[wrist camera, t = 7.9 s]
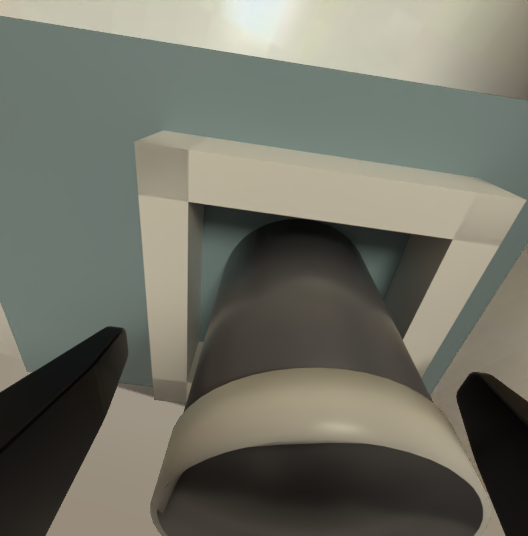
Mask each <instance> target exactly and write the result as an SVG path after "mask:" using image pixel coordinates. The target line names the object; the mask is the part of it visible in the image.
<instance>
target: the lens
mask: <svg viewBox="0 0 528 536" xmlns="http://www.w3.org/2000/svg"><path fill="white" fill-rule="evenodd" d="M490 516H491V506H490V502H489V499H488V496H487V494H486V492H485V490H484V488H483V486H482V484H481V482H480V480H479V478H478V476H477V474H476V472H475V470H474V468H473V466H472V464H471V462H470V461H469V459H468V457H467V455H466V453H465V451H464V449H463V447H462V445H461V443H460V441H459V439H458V437H457V435H456V433H455V431H454V429H453V427H452V425H451V424H450V422H449V421H448V419H447V417H446V416H445V414H444V413H443V412H442V411H441V410H440V409H439V408H438V407H437V406H436V405H435V404H434V403H433V401H432V399H431V397H430V395H429V393H428V391H427V389H426V387H425V385H424V383H423V381H422V379H421V377H420V375H419V372H418V370H417V368H416V366H415V364H414V362H413V360H412V358H411V356H410V354H409V352H408V350H407V348H406V346H405V344H404V342H403V340H402V338H401V336H400V334H399V332H398V330H397V328H396V326H395V324H394V322H393V319H392V317H391V315H390V313H389V311H388V309H387V307H386V305H385V303H384V301H383V299H382V297H381V295H380V293H379V291H378V289H377V287H376V285H375V283H374V281H373V279H372V277H371V275H370V273H369V271H368V269H367V266H366V264H365V262H364V260H363V258H362V256H361V254H360V253H359V251H358V249H357V248H356V246H355V245H354V244H353V243H352V241H351V240H350V239H349V238H347V237H346V236H345V235H344V234H343V233H341V232H340V231H338V230H337V229H335V228H333V227H331V226H329V225H326V224H323V223H320V222H317V221H312V220H306V219H286V220H281V221H276V222H273V223H269V224H266V225H264V226H262V227H260V228H257V229H256V230H254V231H253V232H251V233H249V234H248V235H247V236H246V237H244V238H243V239H242V240H241V241H240V242H239V243H238V244H237V246H236V247H235V248H234V250H233V251H232V253H231V254H230V256H229V258H228V260H227V264H226V267H225V270H224V274H223V277H222V281H221V284H220V287H219V291H218V294H217V298H216V301H215V305H214V308H213V312H212V315H211V319H210V322H209V326H208V329H207V333H206V336H205V340H204V343H203V347H202V350H201V354H200V357H199V361H198V364H197V368H196V371H195V375H194V378H193V381H192V385H191V388H190V392H189V395H188V399H187V402H186V406H185V409H184V413H183V414H182V415H181V416H180V418H179V419H178V421H177V423H176V425H175V426H174V428H173V431H172V435H171V438H170V441H169V444H168V448H167V451H166V454H165V458H164V461H163V464H162V468H161V471H160V474H159V477H158V481H157V484H156V487H155V491H154V494H153V497H152V501H151V517H152V520H153V523H154V525H155V526H156V528H157V530H158V532H159V533H160V534H161V535H162V536H481V535H482V534H483V533H484V531H485V530H486V528H487V526H488V523H489V520H490Z"/></svg>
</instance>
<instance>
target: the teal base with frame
mask: <svg viewBox="0 0 528 536" xmlns="http://www.w3.org/2000/svg"><path fill="white" fill-rule="evenodd" d="M286 219H306V220H312V221H317V222H320V223H323V224H326V225H329V226H331V227H333V228H335V229H337V230H338V231H340V232H341V233H343V234H344V235H345V236H346V237H347V238H349V239H350V240H351V241H352V243H353V244H354V245H355V246H356V248H357V249H358V251H359V253H360V254H361V256H362V258H363V260H364V262H365V264H366V266H367V269H368V271H369V273H370V275H371V277H372V279H373V281H374V283H375V285H376V287H377V289H378V291H379V293H380V295H381V297H382V299H383V301H384V303H385V305H386V307H387V309H388V311H389V313H390V315H391V317H392V319H393V322H394V324H395V326H396V328H397V330H398V332H399V334H400V336H401V338H402V340H403V342H404V344H405V346H406V348H407V350H408V352H409V354H410V356H411V358H412V360H413V362H414V364H415V366H416V368H417V370H418V372H419V375H420V377H421V379H422V381H423V383H424V385H425V387H426V389H427V391H428V393H429V395H430V394H431V393H432V391H433V390H434V388H435V387H436V385H437V383H438V382H439V380H440V379H441V377H442V376H443V374H444V373H445V371H446V369H447V368H448V366H449V365H450V363H451V362H452V360H453V358H454V357H455V355H456V354H457V352H458V351H459V349H460V348H461V346H462V344H463V343H464V341H465V340H466V338H467V337H468V335H469V334H470V332H471V330H472V329H473V327H474V326H475V324H476V323H477V321H478V320H479V318H480V316H481V315H482V313H483V312H484V310H485V309H486V307H487V305H488V304H489V302H490V301H491V299H492V298H493V296H494V295H495V293H496V291H497V290H498V288H499V287H500V285H501V284H502V282H503V281H504V279H505V277H506V276H507V274H508V273H509V271H510V270H511V268H512V267H513V265H514V263H515V262H516V260H517V259H518V257H519V256H520V254H521V252H522V251H523V249H524V248H525V246H526V245H527V243H528V100H522V99H515V98H509V97H503V96H497V95H490V94H484V93H478V92H472V91H465V90H459V89H453V88H447V87H441V86H434V85H428V84H422V83H416V82H409V81H403V80H397V79H391V78H384V77H378V76H372V75H366V74H359V73H353V72H347V71H341V70H335V69H328V68H322V67H316V66H310V65H303V64H297V63H291V62H285V61H278V60H272V59H266V58H260V57H253V56H247V55H241V54H235V53H229V52H222V51H216V50H210V49H204V48H197V47H191V46H185V45H179V44H172V43H166V42H160V41H154V40H147V39H141V38H135V37H129V36H123V35H116V34H110V33H104V32H98V31H91V30H85V29H79V28H73V27H66V26H60V25H54V24H48V23H41V22H35V21H29V20H23V19H16V18H10V17H4V16H0V302H1V305H2V307H3V310H4V312H5V315H6V318H7V320H8V323H9V326H10V328H11V331H12V333H13V336H14V339H15V341H16V344H17V346H18V349H19V352H20V354H21V357H22V359H23V362H24V365H25V367H26V370H27V372H34V371H35V370H37V369H39V368H40V367H42V366H43V365H45V364H47V363H48V362H50V361H52V360H53V359H55V358H56V357H58V356H60V355H61V354H63V353H64V352H66V351H68V350H69V349H71V348H73V347H74V346H76V345H77V344H79V343H81V342H82V341H84V340H85V339H87V338H89V337H90V336H92V335H94V334H95V333H97V332H98V331H100V330H102V329H103V328H105V327H107V326H114V327H122V328H124V329H125V330H126V335H127V343H128V351H129V352H128V359H127V362H126V364H125V367H124V370H123V372H122V375H121V377H120V380H119V383H126V384H135V385H143V386H151V387H153V392H154V400H161V401H169V402H178V403H186V402H187V399H188V395H189V392H190V388H191V385H192V381H193V378H194V375H195V371H196V368H197V364H198V361H199V357H200V354H201V350H202V347H203V343H204V340H205V336H206V333H207V329H208V326H209V322H210V319H211V315H212V312H213V308H214V305H215V301H216V298H217V294H218V291H219V287H220V284H221V281H222V277H223V274H224V270H225V267H226V264H227V260H228V258H229V256H230V254H231V253H232V251H233V250H234V248H235V247H236V246H237V244H238V243H239V242H240V241H241V240H242V239H243V238H244V237H246V236H247V235H248V234H249V233H251V232H253V231H254V230H256V229H257V228H260V227H262V226H264V225H266V224H269V223H273V222H276V221H281V220H286Z"/></svg>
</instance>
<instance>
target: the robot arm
mask: <svg viewBox="0 0 528 536" xmlns="http://www.w3.org/2000/svg"><path fill="white" fill-rule="evenodd" d="M128 352H129V351H128V343H127V335H126V330H125V329H124V328H122V327H114V326H107V327H105V328H103V329H102V330H100V331H98V332H97V333H95V334H94V335H92V336H90V337H89V338H87V339H85V340H84V341H82V342H81V343H79V344H77V345H76V346H74V347H73V348H71V349H69V350H68V351H66V352H64V353H63V354H61V355H60V356H58V357H56V358H55V359H53V360H52V361H50V362H48V363H47V364H45V365H43V366H42V367H40V368H39V369H37V370H35V371H34V372H32V373H31V374H29V375H27V376H26V377H24V378H22V379H21V380H19V381H18V382H16V383H15V384H13V385H11V386H10V387H8V388H7V389H5V390H3V391H1V392H0V536H46V534H47V532H48V530H49V528H50V525H51V524H52V522H53V520H54V518H55V516H56V514H57V512H58V510H59V508H60V506H61V504H62V502H63V500H64V498H65V496H66V494H67V492H68V490H69V488H70V486H71V484H72V482H73V480H74V478H75V476H76V474H77V472H78V471H79V469H80V467H81V465H82V463H83V461H84V459H85V457H86V455H87V453H88V451H89V449H90V447H91V445H92V443H93V441H94V439H95V437H96V435H97V433H98V431H99V429H100V427H101V425H102V423H103V421H104V418H105V416H106V414H107V411H108V409H109V406H110V404H111V401H112V398H113V396H114V393H115V391H116V388H117V385H118V383H119V380H120V377H121V375H122V372H123V370H124V367H125V364H126V362H127V359H128ZM456 397H457V403H458V406H459V409H460V413H461V416H462V419H463V423H464V426H465V429H466V432H467V436H468V439H469V442H470V446H471V449H472V452H473V455H474V458H475V461H476V464H477V466H478V469H479V471H480V474H481V476H482V479H483V481H484V484H485V486H486V489H487V491H488V494H489V496H490V499H491V501H492V503H493V506H494V508H495V511H496V513H497V515H498V518H499V521H500V523H501V526H502V528H503V530H504V533H505V535H506V536H528V401H526V400H525V399H523V398H522V397H521V396H519V395H518V394H517V393H515V392H514V391H513V390H511V389H510V388H508V387H507V386H506V385H504V384H503V383H502V382H500V381H499V380H498V379H496V378H495V377H494V376H492V375H490V374H487V373H480V372H472V373H470V374H469V375H468V377H467V378H466V380H465V381H464V382H463V384H462V385H461V387H460V388H459V390H458V391H457V396H456Z"/></svg>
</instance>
